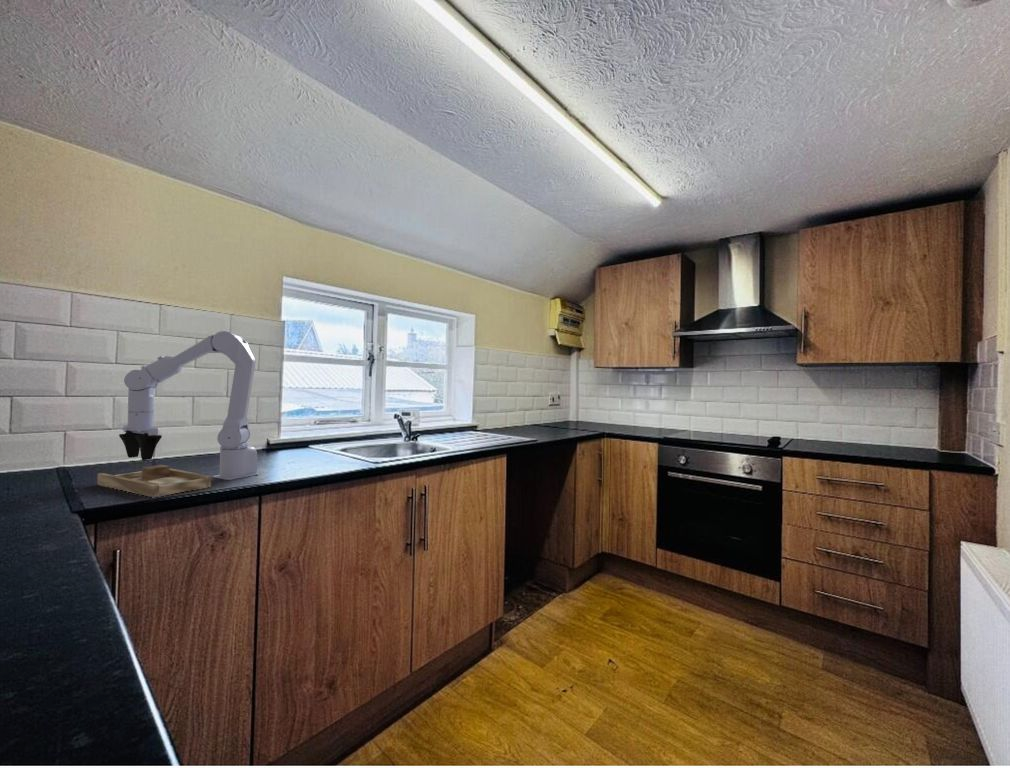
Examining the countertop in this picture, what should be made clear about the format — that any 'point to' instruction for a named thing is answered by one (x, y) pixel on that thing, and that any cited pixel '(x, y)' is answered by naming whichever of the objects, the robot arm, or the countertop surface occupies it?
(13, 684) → the countertop surface
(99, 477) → the tray
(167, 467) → the block
